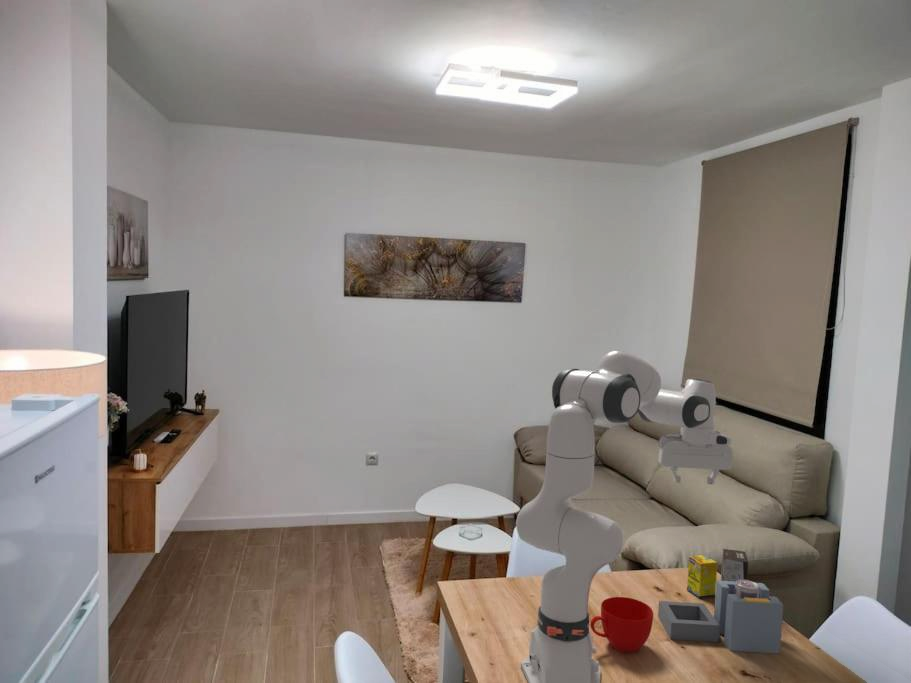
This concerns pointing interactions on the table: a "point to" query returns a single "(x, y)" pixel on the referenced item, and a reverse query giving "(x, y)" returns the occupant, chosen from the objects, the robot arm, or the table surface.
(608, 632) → the ceramic cup
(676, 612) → the tray
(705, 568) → the supplement box
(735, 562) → the coffee box
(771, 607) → the socket
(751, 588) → the beverage can
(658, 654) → the table surface
